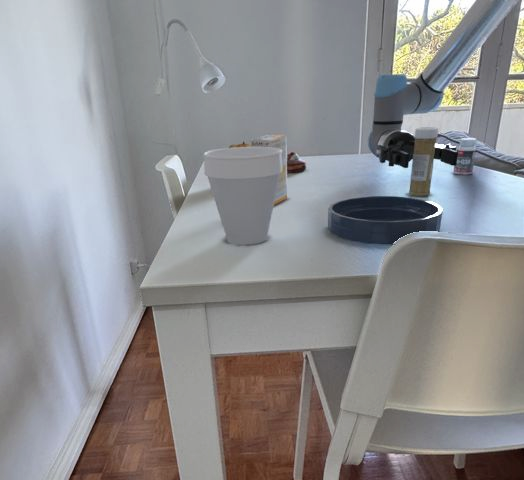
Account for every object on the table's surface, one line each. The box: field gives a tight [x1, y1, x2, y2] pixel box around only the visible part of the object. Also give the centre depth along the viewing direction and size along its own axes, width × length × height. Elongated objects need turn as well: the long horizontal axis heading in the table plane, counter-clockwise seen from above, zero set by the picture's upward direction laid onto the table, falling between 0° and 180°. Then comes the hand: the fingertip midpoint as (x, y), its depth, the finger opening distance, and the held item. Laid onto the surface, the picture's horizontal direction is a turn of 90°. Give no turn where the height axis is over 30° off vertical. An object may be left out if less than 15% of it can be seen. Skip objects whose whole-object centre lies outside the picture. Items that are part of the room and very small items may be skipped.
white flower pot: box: [202, 147, 283, 246], centre depth 76 cm, size 12×12×14 cm
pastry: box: [287, 151, 307, 173], centre depth 137 cm, size 8×8×5 cm
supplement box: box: [249, 134, 288, 206], centre depth 100 cm, size 8×5×13 cm, turn 154°
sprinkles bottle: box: [408, 126, 439, 197], centre depth 101 cm, size 5×5×13 cm
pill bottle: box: [452, 137, 478, 176], centre depth 123 cm, size 5×5×8 cm
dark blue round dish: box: [327, 195, 444, 245], centre depth 79 cm, size 18×18×4 cm
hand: (431, 159), depth 96 cm, fingers open, 9 cm apart
